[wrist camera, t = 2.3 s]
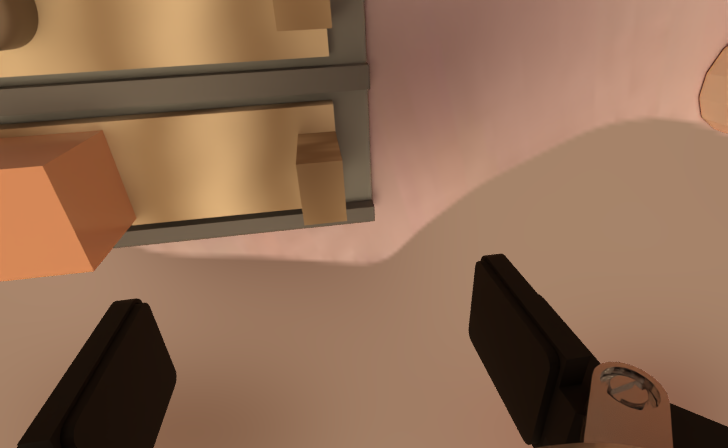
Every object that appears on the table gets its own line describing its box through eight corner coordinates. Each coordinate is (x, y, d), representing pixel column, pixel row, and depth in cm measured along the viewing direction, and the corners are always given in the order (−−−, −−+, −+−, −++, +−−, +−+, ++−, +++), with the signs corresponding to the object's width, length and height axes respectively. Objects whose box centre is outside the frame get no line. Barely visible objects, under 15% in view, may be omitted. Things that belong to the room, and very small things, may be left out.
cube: (102, 130, 19) (42, 166, 15) (136, 218, 21) (93, 271, 17) (-7, 138, 19) (-101, 177, 14) (41, 227, 21) (-28, 284, 17)
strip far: (331, 99, 21) (340, 128, 16) (340, 195, 24) (349, 245, 19) (-26, 126, 19) (-143, 167, 14) (29, 226, 22) (-52, 289, 17)
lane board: (355, -129, 17) (361, -145, 16) (370, 206, 26) (374, 220, 24) (-219, -117, 15) (-287, -133, 13) (1, 243, 24) (-23, 262, 22)
